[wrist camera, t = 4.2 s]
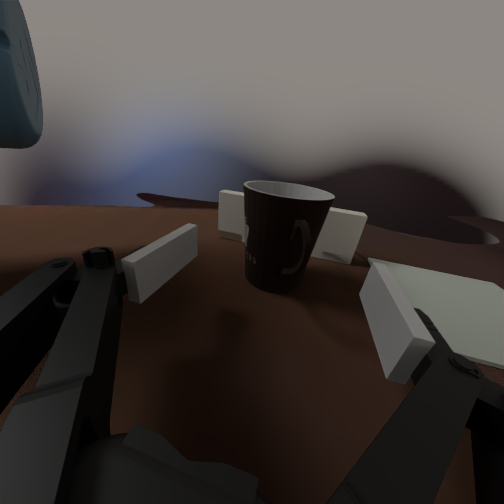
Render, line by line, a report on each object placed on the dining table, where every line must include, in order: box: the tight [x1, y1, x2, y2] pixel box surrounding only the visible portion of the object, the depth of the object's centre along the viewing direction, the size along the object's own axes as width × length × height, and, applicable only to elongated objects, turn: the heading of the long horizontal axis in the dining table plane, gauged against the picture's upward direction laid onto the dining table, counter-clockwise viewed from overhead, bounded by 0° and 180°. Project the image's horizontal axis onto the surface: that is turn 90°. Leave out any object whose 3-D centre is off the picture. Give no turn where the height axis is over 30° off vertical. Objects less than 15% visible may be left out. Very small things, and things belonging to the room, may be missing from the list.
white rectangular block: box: [218, 190, 367, 265], centre depth 31 cm, size 20×4×7 cm, turn 75°
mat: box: [368, 258, 504, 370], centre depth 23 cm, size 16×16×1 cm
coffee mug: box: [244, 181, 335, 293], centre depth 21 cm, size 12×9×10 cm
